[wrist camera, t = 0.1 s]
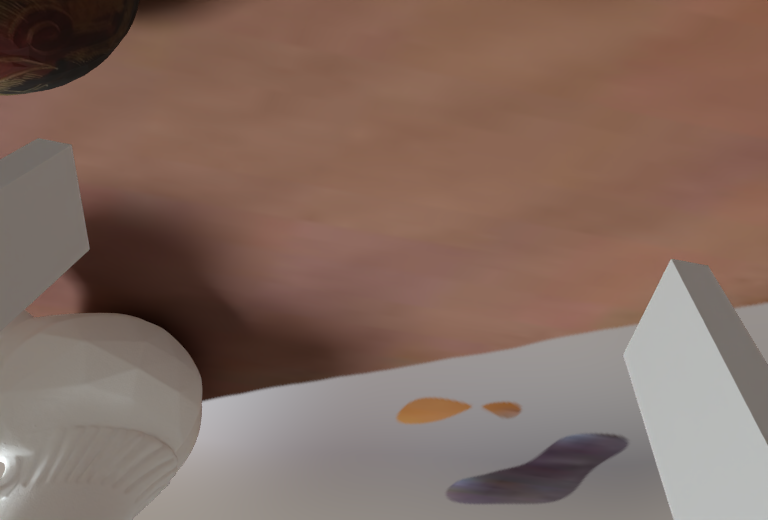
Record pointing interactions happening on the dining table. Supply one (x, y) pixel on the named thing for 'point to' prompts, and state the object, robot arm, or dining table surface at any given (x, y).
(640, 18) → the dining table surface
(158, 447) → the decorative rooster
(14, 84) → the ceramic jug
